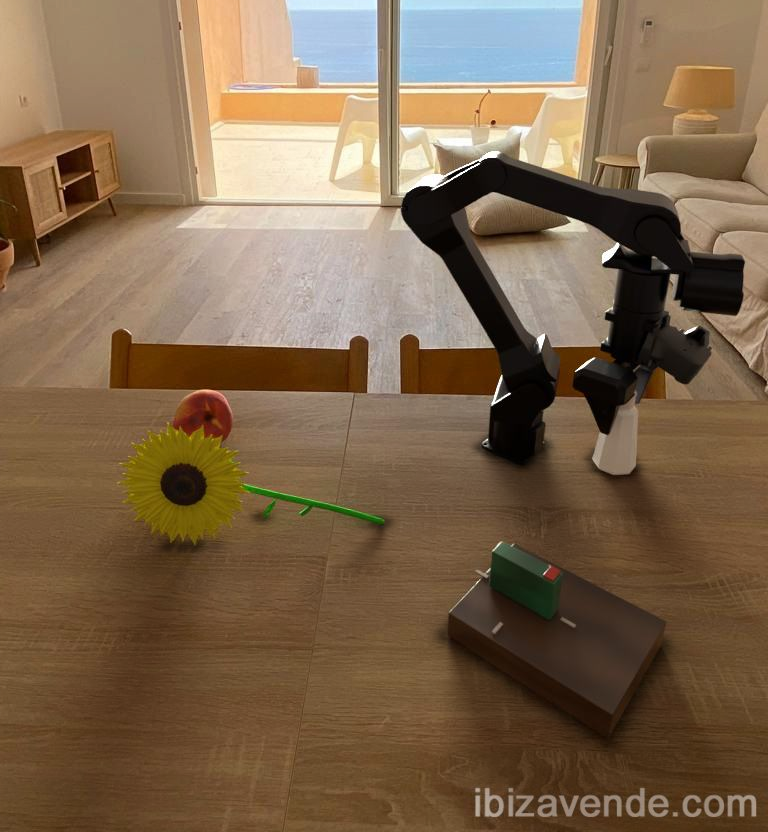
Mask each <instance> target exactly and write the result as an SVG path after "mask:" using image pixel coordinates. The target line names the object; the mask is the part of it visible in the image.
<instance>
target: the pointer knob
mask: <svg viewBox="0 0 768 832" xmlns="http://www.w3.org/2000/svg"><path fill="white" fill-rule="evenodd" d="M490 562H491V563H490V568H491V573H490V587H491V588H493V589H495V590H497V591H498V592H500V593H502V594H504V595H505V596H507V597H509V598H511V599H512V600H514V601H516V602H518V603H519V604H521V605H523V606H525V607H526V608H528V609H530V610H532V611H534V612H535V613H537V614H539V615H541V616H542V617H544V618H546V619H548V620H550V619H551V618H552V617H553V615H554V614H555V613H556V612H557V610H558V608H559V601H560V593H561V586H562V578H563V573H562V572H561V571H560V570H558V569H557V568H555V567H553V566H549V565H547V564H545V563H543V562H541V561H539V560H537V559H535V558H533V557H531V556H529V555H527V554H525V553H524V552H522V551H520V550H518V549H516V548H514V547H512V545H511V544H508V543H506V542H504V541H500V542H499V543H498V544H497V545H496V547H495V548H494V549H492V551H491V561H490Z"/></svg>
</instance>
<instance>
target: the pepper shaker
mask: <svg viewBox="0 0 768 832" xmlns="http://www.w3.org/2000/svg"><path fill="white" fill-rule="evenodd" d="M634 394H635V396H634V397H633V398H632V399H631V400H630V401H629V402H628V403H627V404H625V405H622V406H620V408H619V410H618V413H617V416H616V419H615V422H614V424H613V427H612V430H611V432H610V434H609V435H605V434H603V433H601V432H600V431H599V433H598V436H597V440H596V444H595V448H594V451H593V455H592V458H591V459H592V461H593V462H594V464H595V466H596V467H597V469H598V470H600V471H602V472H605V473H607V474H610V475H612V476H621V475H630V474H631V472H632V471H633V470H634V469H635V468H636V467H637V451H638V449H637V448H638V427H639V426H638V424H639V409H638V408H637V407H636V406H635V405H636V404H635V400H636V399H635V398H636V396H637V392H636V391H635V392H634Z"/></svg>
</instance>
